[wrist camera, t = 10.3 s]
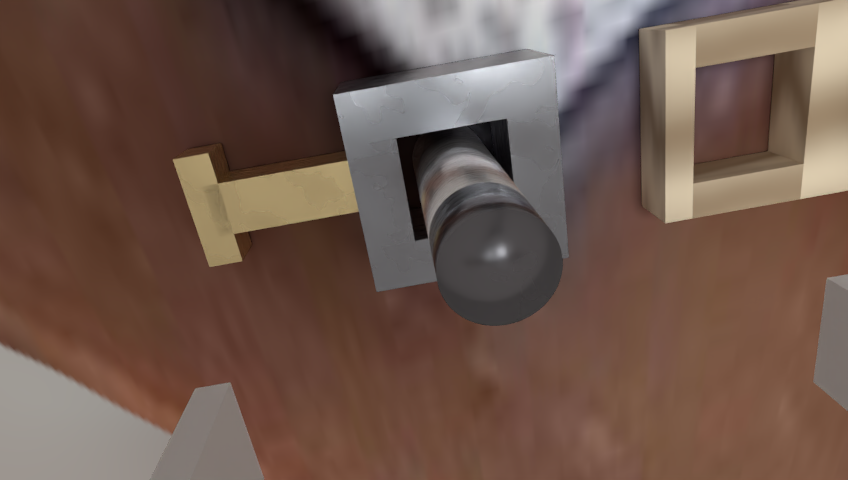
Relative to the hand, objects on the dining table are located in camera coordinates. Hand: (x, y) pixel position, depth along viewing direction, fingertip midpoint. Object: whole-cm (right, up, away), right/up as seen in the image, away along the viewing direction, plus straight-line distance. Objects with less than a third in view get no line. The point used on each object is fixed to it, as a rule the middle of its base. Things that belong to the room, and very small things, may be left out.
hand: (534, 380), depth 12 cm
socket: (-1, +8, +19) cm, 21 cm away
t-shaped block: (-9, +6, +19) cm, 22 cm away
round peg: (-1, +8, +19) cm, 21 cm away
